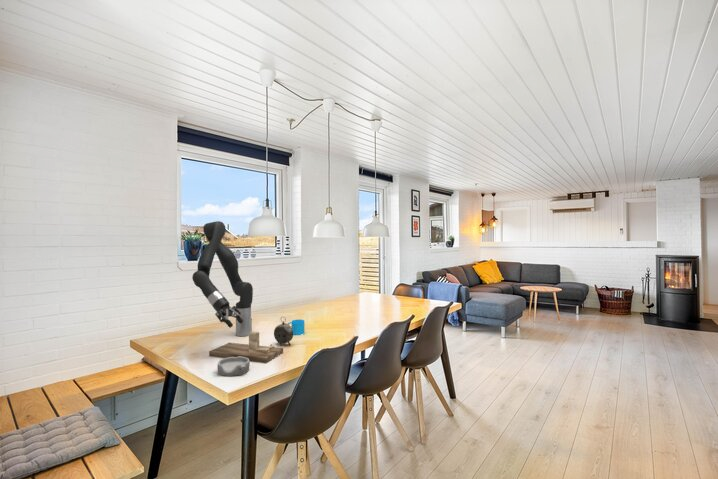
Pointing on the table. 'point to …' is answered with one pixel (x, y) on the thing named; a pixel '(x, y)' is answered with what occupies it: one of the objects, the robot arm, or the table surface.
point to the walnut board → (244, 352)
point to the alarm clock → (283, 333)
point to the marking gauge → (257, 344)
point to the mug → (297, 327)
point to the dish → (233, 366)
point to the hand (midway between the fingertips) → (236, 324)
